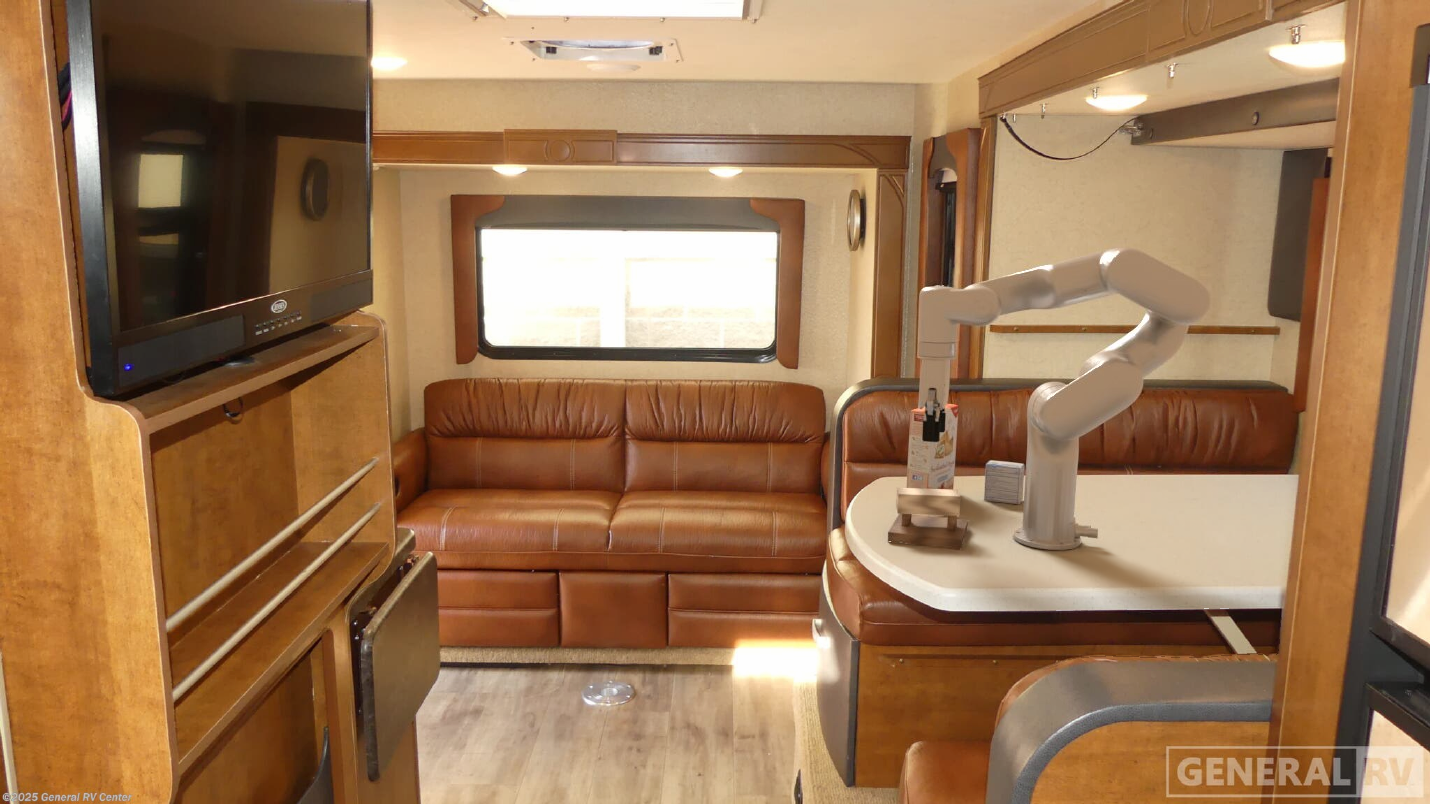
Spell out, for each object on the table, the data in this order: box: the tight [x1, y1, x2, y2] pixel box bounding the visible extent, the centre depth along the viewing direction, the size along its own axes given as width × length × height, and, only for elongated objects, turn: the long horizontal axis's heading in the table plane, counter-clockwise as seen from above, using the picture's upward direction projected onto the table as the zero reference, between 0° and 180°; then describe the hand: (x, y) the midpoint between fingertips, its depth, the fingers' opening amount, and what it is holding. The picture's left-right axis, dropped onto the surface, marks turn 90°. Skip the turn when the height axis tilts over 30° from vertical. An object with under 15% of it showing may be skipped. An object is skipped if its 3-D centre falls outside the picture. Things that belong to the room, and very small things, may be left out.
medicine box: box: [983, 460, 1025, 505], centre depth 229 cm, size 8×4×9 cm, turn 63°
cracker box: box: [906, 403, 960, 490], centre depth 231 cm, size 14×6×21 cm, turn 143°
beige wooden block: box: [895, 487, 961, 517], centre depth 202 cm, size 12×5×4 cm, turn 83°
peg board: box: [887, 514, 969, 550], centre depth 203 cm, size 14×14×5 cm
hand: (933, 436), depth 200 cm, fingers open, 9 cm apart
